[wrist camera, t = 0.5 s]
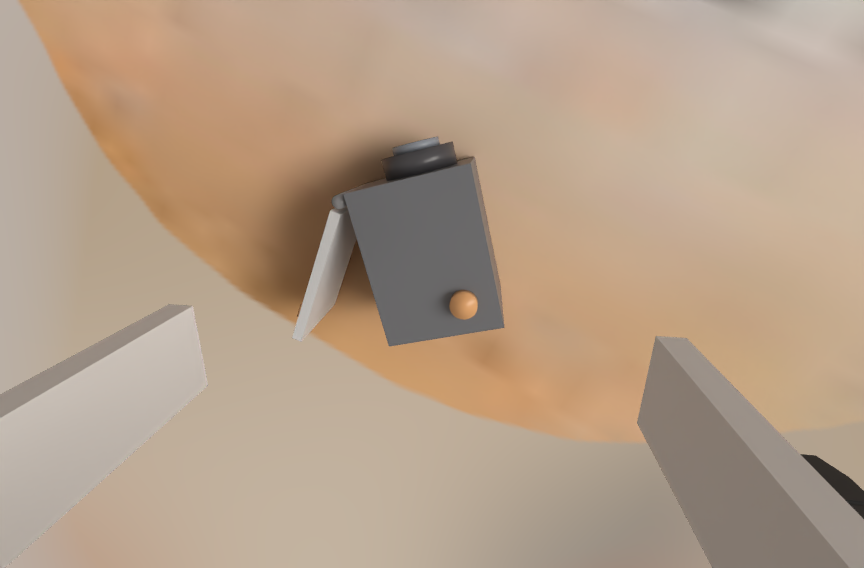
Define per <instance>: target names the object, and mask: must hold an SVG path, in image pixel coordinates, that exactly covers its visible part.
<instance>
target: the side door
mask: <svg viewBox="0 0 864 568" xmlns="http://www.w3.org/2000/svg"><path fill="white" fill-rule="evenodd" d="M367 184H369V183H366V184H363V185H361V186H358V187H356V188H353V189H351V190H348V191H346V192H343V193H341V194H338V195H336V196H334V197H333V198H332V205H333V206H334V207H335V208H334V209H332V210H330V213H329V216H328V220H327V223H326V226H325V230H324V233H323V236H322V240H321V243H320V246H319V250H318V253H317V256H316V260H315V263H314V267H313V270H312V273H311V277H310V280H309V283H308V287H307V290H306V293H305V297H304V300H303V303H302V304H301V305H300V308H299V311H298V315H297V317H298V320H297V323H296V327H295V330H294V334H293V337H292V338H293V339H296V340H298V341H302V340H303V339H304V338H305V337H306V336H307V335H308V334H309V333H310V332H311V330H312V329H313V328H314V327H315V326H316V325H317V324H318V323H319V322H320V320H321V319H322V318H323V317H324V316H325V315H326V314H327V313H328V312H329V310H330V309H331V308H332V307H333V306H334V305H335V302H336V299H337V296H338V293H339V290H340V287H341V284H342V281H343V278H344V275H345V272H346V269H347V266H348V263H349V260H350V257H351V254H352V251H353V248H354V245H355V242H356V239H357V238H356V235H355V231H354V228H353V225H352V221H351V218H350V215H349V211H348V208H347V205H346V201H345V198H344V195H343V194H344V193H347V192H349V191H352V190H354V189H357V188H359V187H362V186H364V185H367Z"/></svg>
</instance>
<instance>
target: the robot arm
mask: <svg viewBox="0 0 864 568" xmlns="http://www.w3.org/2000/svg"><path fill="white" fill-rule="evenodd" d="M207 386H208V383H207V378H206V373H205V367H204V362H203V357H202V351H201V346H200V341H199V336H198V330H197V325H196V321H195V315H194V310H193V306H187V305H171V304H169V305H167V306H165V307H163V308H161V309H159V310H158V311H156V312H154V313H152V314H150V315H148V316H146V317H144V318H143V319H141V320H139V321H137V322H135V323H133V324H131V325H129V326H128V327H126V328H124V329H122V330H120V331H118V332H116V333H114V334H113V335H111V336H109V337H107V338H105V339H103V340H101V341H100V342H98V343H96V344H94V345H92V346H90V347H88V348H87V349H85V350H83V351H81V352H79V353H77V354H75V355H73V356H71V357H70V358H68V359H66V360H64V361H62V362H60V363H58V364H56V365H55V366H53V367H51V368H49V369H47V370H45V371H43V372H42V373H40V374H38V375H36V376H34V377H32V378H30V379H28V380H27V381H25V382H23V383H21V384H19V385H17V386H15V387H14V388H12V389H10V390H8V391H6V392H4V393H2V394H0V568H6V567H7V566H8V565H9V564H10V563H11V562H12V561H13V560H15V559H16V558H17V557H18V556H19V555H20V554H21V553H22V552H23V551H24V550H26V549H27V548H28V547H29V546H30V545H31V544H32V543H33V542H35V541H36V540H37V539H38V538H39V537H40V536H41V535H42V534H44V533H45V532H46V531H47V530H48V529H49V528H50V527H51V526H52V525H53V524H55V523H56V522H57V521H58V520H59V519H60V518H61V517H62V516H63V515H65V514H66V513H67V512H68V511H69V510H70V509H71V508H72V507H74V506H75V505H76V504H77V503H78V502H79V501H80V500H81V499H82V498H83V497H85V496H86V495H87V494H88V493H89V492H90V491H91V490H92V489H94V488H95V487H96V486H97V485H98V484H99V483H100V482H101V481H102V480H104V479H105V478H106V477H107V476H108V475H109V474H110V473H111V472H112V471H114V469H116V468H117V467H118V466H119V465H120V464H121V463H122V462H123V461H125V460H126V459H127V458H128V457H129V456H130V455H131V454H132V453H134V452H135V451H136V450H137V449H138V448H139V447H140V446H141V445H142V444H144V442H145V441H147V440H148V439H149V438H150V437H151V436H152V435H154V434H155V432H157V431H158V430H159V429H160V428H161V427H162V426H164V425H165V424H166V423H167V422H168V421H169V420H170V419H171V418H172V417H174V416H175V415H176V414H177V413H178V412H179V411H180V410H181V409H182V408H184V407H185V406H186V405H187V404H188V403H189V402H190V401H191V400H192V399H194V398H195V397H196V396H197V395H198V394H199V393H200V392H201V391H202V390H204V389H205V388H206V387H207ZM637 424H638V426H639V428H640V430H641V431H642V433H643V435H644V437H645V439H646V441H647V443H648V445H649V447H650V449H651V451H652V452H653V454H654V456H655V458H656V460H657V462H658V464H659V466H660V468H661V470H662V472H663V474H664V476H665V478H666V480H667V481H668V483H669V485H670V487H671V489H672V491H673V493H674V495H675V497H676V499H677V501H678V503H679V505H680V506H681V508H682V510H683V512H684V514H685V516H686V518H687V520H688V522H689V524H690V525H691V527H692V529H693V532H694V533H695V535H696V537H697V539H698V541H699V543H700V545H701V547H702V549H703V551H704V553H705V555H706V556H707V558H708V560H709V562H710V564H711V566H712V568H864V491H863V490H862V489H861V488H860V487H859V486H858V485H857V484H856V483H855V482H854V481H853V480H851V479H850V478H849V477H848V476H846V475H845V474H843V473H841V472H840V471H839V470H837V469H835V468H834V467H832V466H831V465H829V464H828V463H826V462H825V461H823V460H822V459H820V458H818V457H817V456H814V455H802V454H799V453H798V452H797V450H796V449H795V448H794V447H793V446H792V445H791V444H790V443H789V442H788V441H787V440H786V439H785V438H784V437H783V436H782V435H781V434H780V433H779V432H778V431H777V430H776V429H775V428H774V427H773V426H772V425H771V424H770V423H769V422H768V421H767V420H766V419H765V418H764V417H763V416H762V415H761V414H760V413H759V412H758V411H757V410H756V409H755V408H754V407H753V405H752V404H751V403H750V402H749V401H748V400H747V399H746V398H745V397H744V396H743V395H742V394H741V393H740V392H739V391H738V390H737V389H736V388H735V387H734V386H733V385H732V384H731V383H730V382H729V381H728V380H727V379H726V378H725V377H724V376H723V375H722V374H721V373H720V372H719V371H718V370H717V369H716V368H715V367H714V366H713V365H712V364H711V363H710V362H709V361H708V360H707V358H706V357H705V356H704V355H703V354H702V353H701V352H700V351H699V350H698V349H697V348H696V347H695V346H694V345H693V344H692V343H691V342H690V341H689V340H688V339H687V338H677V337H661V336H656V338H655V342H654V347H653V352H652V356H651V361H650V366H649V370H648V375H647V379H646V384H645V389H644V393H643V398H642V403H641V407H640V412H639V417H638V421H637Z"/></svg>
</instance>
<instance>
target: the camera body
mask: <svg viewBox="0 0 864 568" xmlns="http://www.w3.org/2000/svg"><path fill="white" fill-rule="evenodd" d="M392 151H393V155H394V156H393V157H389V158H386V159H382V160H381V161H382V165H383V169H384V173H385V176H386V178H385V179H381V180H377V181H374V182H371V183H369V184H367V185H364V186H362V187H359V188H357V189H354V190H352V191H349V192H347V193H344V194H343V195H344V198H345V201H346V205H347V208H348V211H349V215H350V218H351V221H352V225H353V228H354V231H355V235H356V238H357V241H358V245H359V248H360V251H361V255H362V258H363V261H364V265H365V268H366V271H367V275H368V278H369V281H370V285H371V288H372V291H373V295H374V298H375V301H376V305H377V308H378V311H379V315H380V318H381V321H382V325H383V328H384V331H385V335H386V338H387V341H388V345H389V346H395V345H401V344H407V343H413V342H419V341H425V340H432V339H438V338H444V337H450V336H456V335H462V334H468V333H474V332H480V331H487V330H493V329H499V328H504V318H503V307H502V296H501V286H500V281H499V276H498V271H497V266H496V261H495V256H494V251H493V246H492V241H491V236H490V231H489V226H488V221H487V216H486V211H485V206H484V201H483V196H482V191H481V186H480V181H479V176H478V171H477V166H476V161H475V157H471V158H467V159H463V160H459V161H457V159H456V155H455V150H454V145H453V142H449V143H445V144H441V145H440V143H439V139H438V137H433V138H429V139H425V140H421V141H417V142H413V143H409V144H405V145H401V146H398V147H394V148H392Z"/></svg>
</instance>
